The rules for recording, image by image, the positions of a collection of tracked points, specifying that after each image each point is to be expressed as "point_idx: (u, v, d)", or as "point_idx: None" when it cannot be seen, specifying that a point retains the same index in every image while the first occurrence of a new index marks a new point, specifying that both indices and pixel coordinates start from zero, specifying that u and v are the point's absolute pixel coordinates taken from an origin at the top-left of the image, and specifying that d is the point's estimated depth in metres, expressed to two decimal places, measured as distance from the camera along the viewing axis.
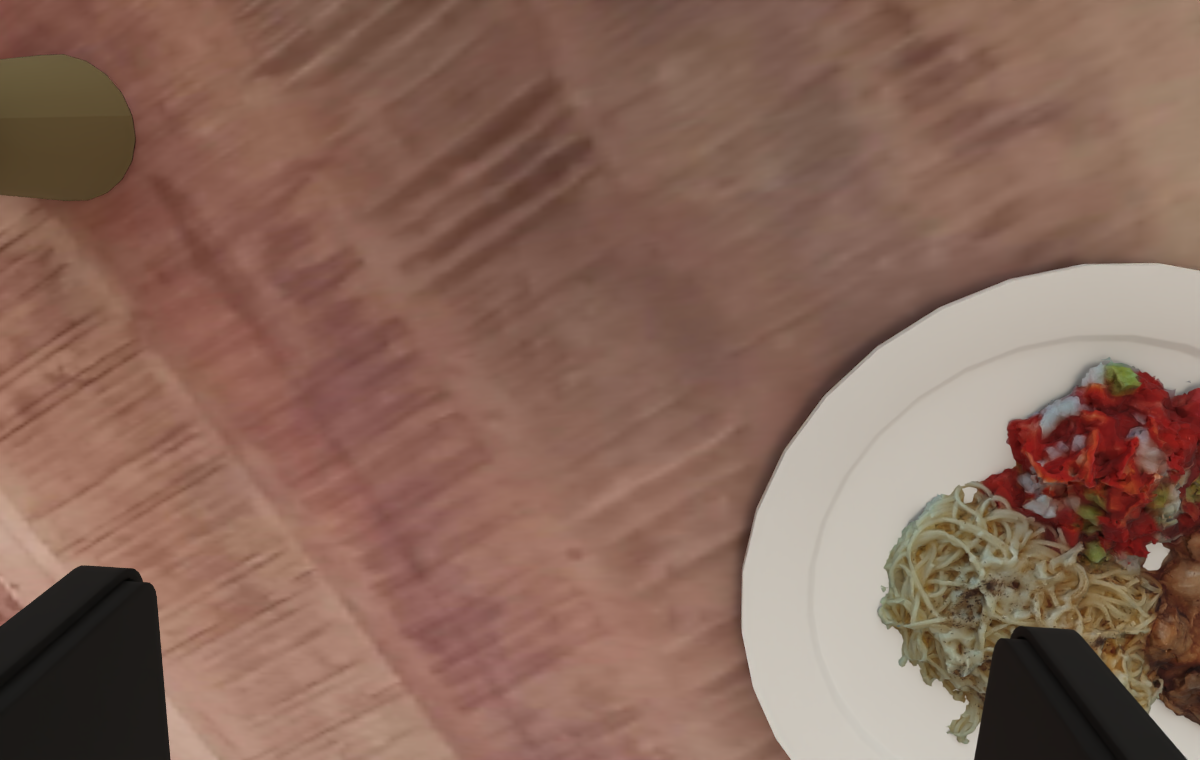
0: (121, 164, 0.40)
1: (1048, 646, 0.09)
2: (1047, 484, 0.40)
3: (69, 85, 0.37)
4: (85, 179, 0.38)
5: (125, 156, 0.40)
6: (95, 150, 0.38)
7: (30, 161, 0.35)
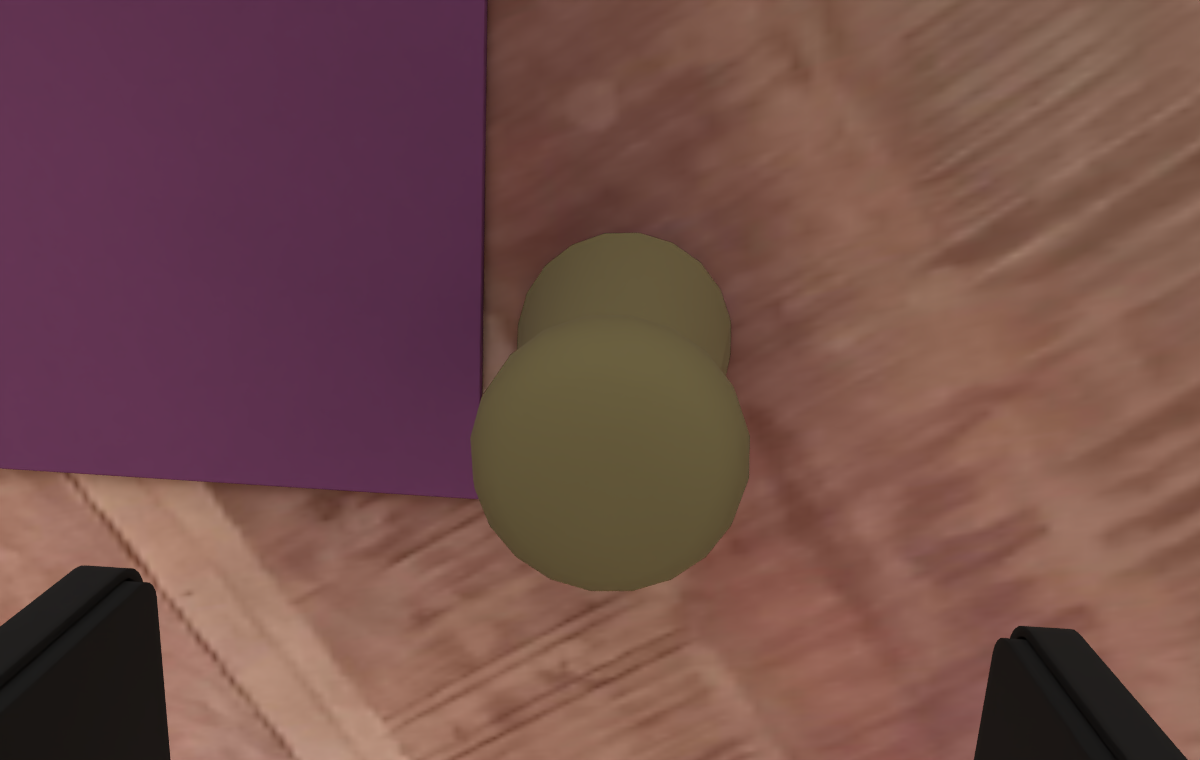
0: None
1: (1048, 646, 0.09)
2: None
3: (704, 300, 0.23)
4: None
5: None
6: None
7: None
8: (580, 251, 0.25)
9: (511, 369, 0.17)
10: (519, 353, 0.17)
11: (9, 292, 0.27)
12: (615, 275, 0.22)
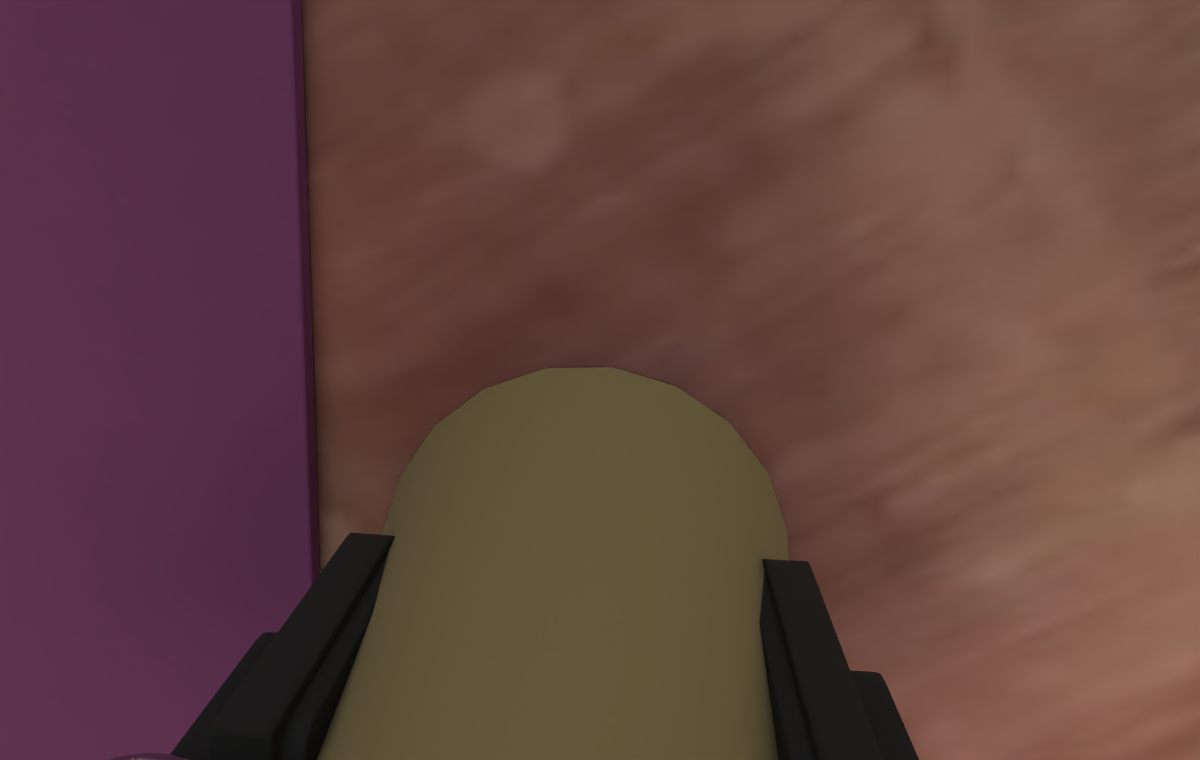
0: None
1: (775, 573, 0.10)
2: None
3: (748, 538, 0.11)
4: None
5: None
6: None
7: None
8: (493, 413, 0.12)
9: None
10: None
11: None
12: (550, 512, 0.10)
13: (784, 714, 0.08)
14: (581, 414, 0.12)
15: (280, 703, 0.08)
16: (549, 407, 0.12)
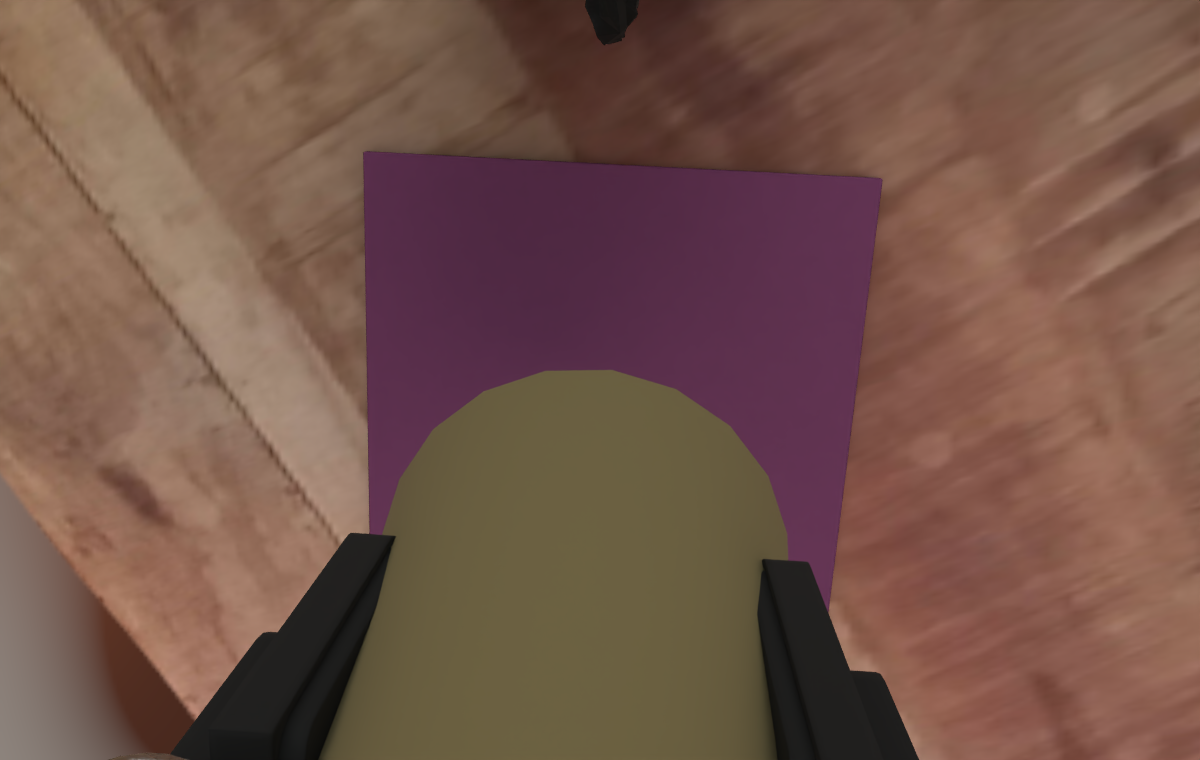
0: None
1: (776, 574, 0.10)
2: None
3: (747, 541, 0.11)
4: None
5: None
6: None
7: None
8: (493, 416, 0.12)
9: None
10: None
11: None
12: (550, 516, 0.10)
13: (785, 714, 0.08)
14: (581, 417, 0.12)
15: (280, 703, 0.08)
16: (549, 410, 0.12)
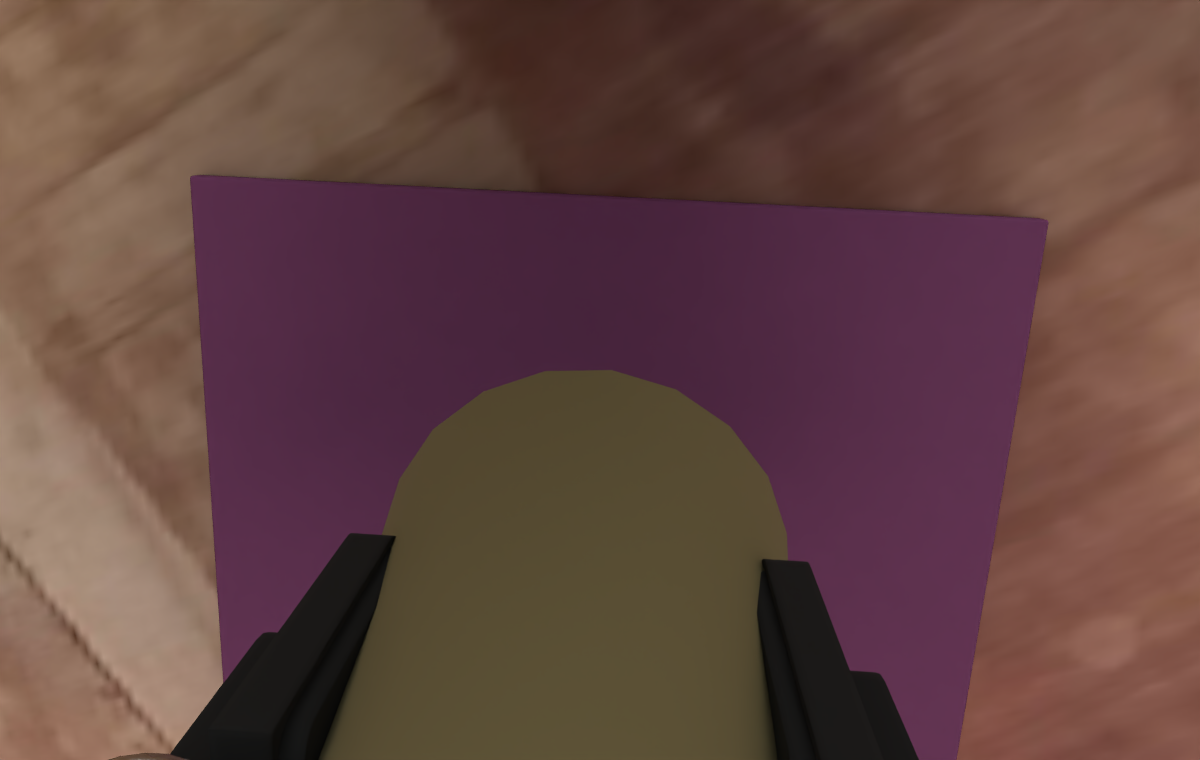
0: None
1: (775, 573, 0.10)
2: None
3: (748, 542, 0.11)
4: None
5: None
6: None
7: None
8: (492, 416, 0.12)
9: None
10: None
11: None
12: (550, 516, 0.10)
13: (784, 714, 0.08)
14: (581, 417, 0.12)
15: (280, 703, 0.08)
16: (549, 410, 0.12)
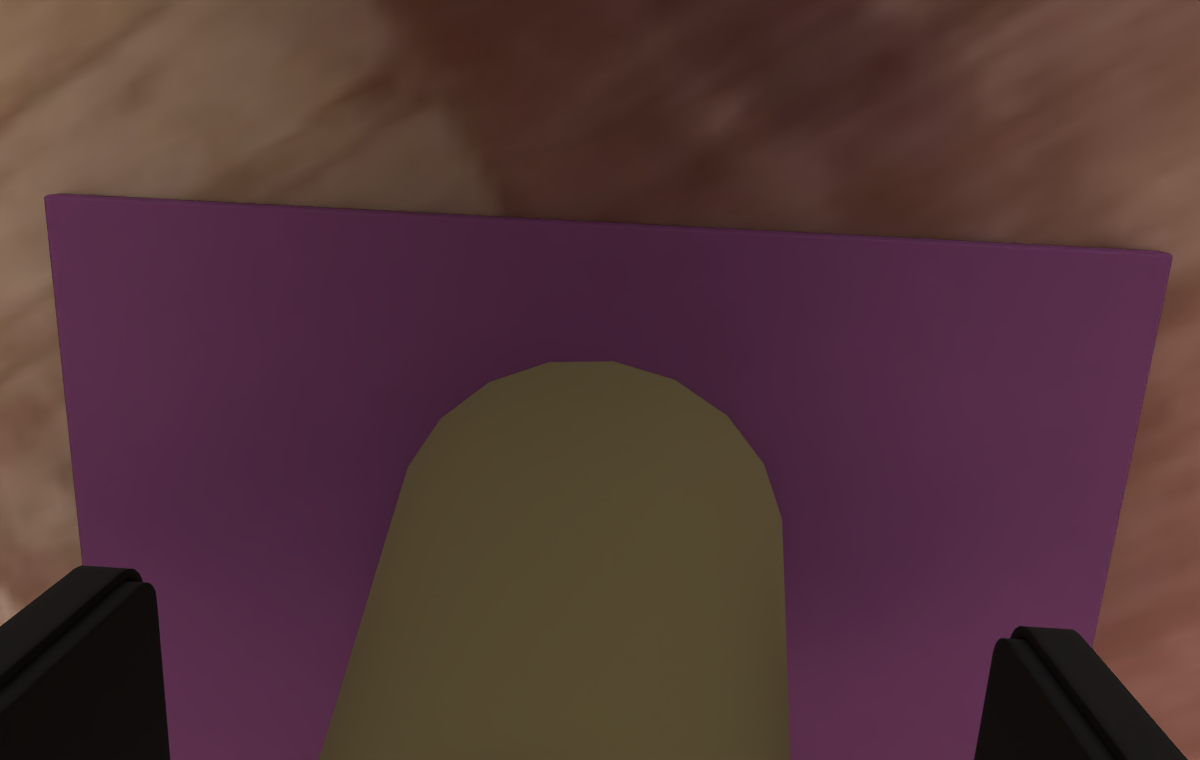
0: None
1: (1048, 646, 0.09)
2: None
3: (744, 523, 0.11)
4: None
5: None
6: None
7: None
8: (498, 404, 0.13)
9: None
10: None
11: None
12: (556, 496, 0.10)
13: None
14: (583, 405, 0.12)
15: None
16: (553, 399, 0.13)
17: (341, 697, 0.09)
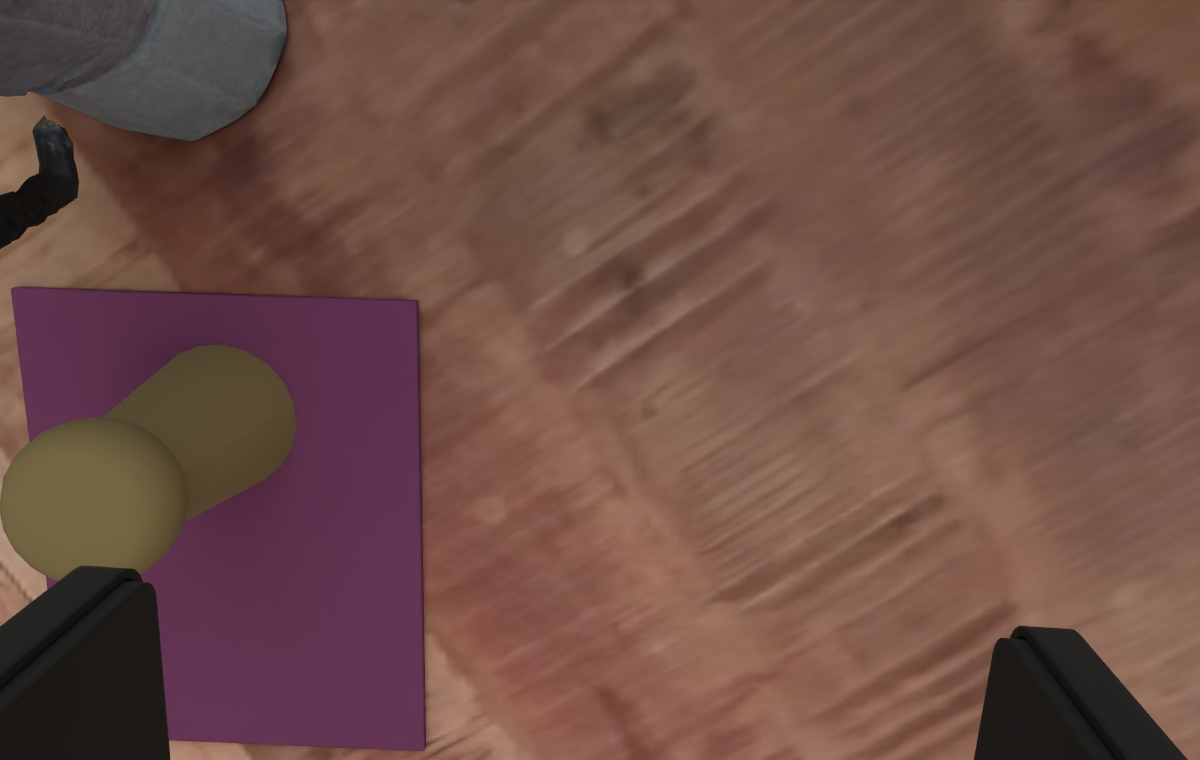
0: (283, 455, 0.38)
1: (1048, 646, 0.09)
2: None
3: (242, 394, 0.35)
4: (252, 482, 0.36)
5: (287, 446, 0.38)
6: (265, 455, 0.36)
7: (213, 494, 0.33)
8: (173, 360, 0.36)
9: (18, 454, 0.28)
10: None
11: None
12: (164, 381, 0.34)
13: None
14: (198, 358, 0.36)
15: None
16: (189, 357, 0.36)
17: None
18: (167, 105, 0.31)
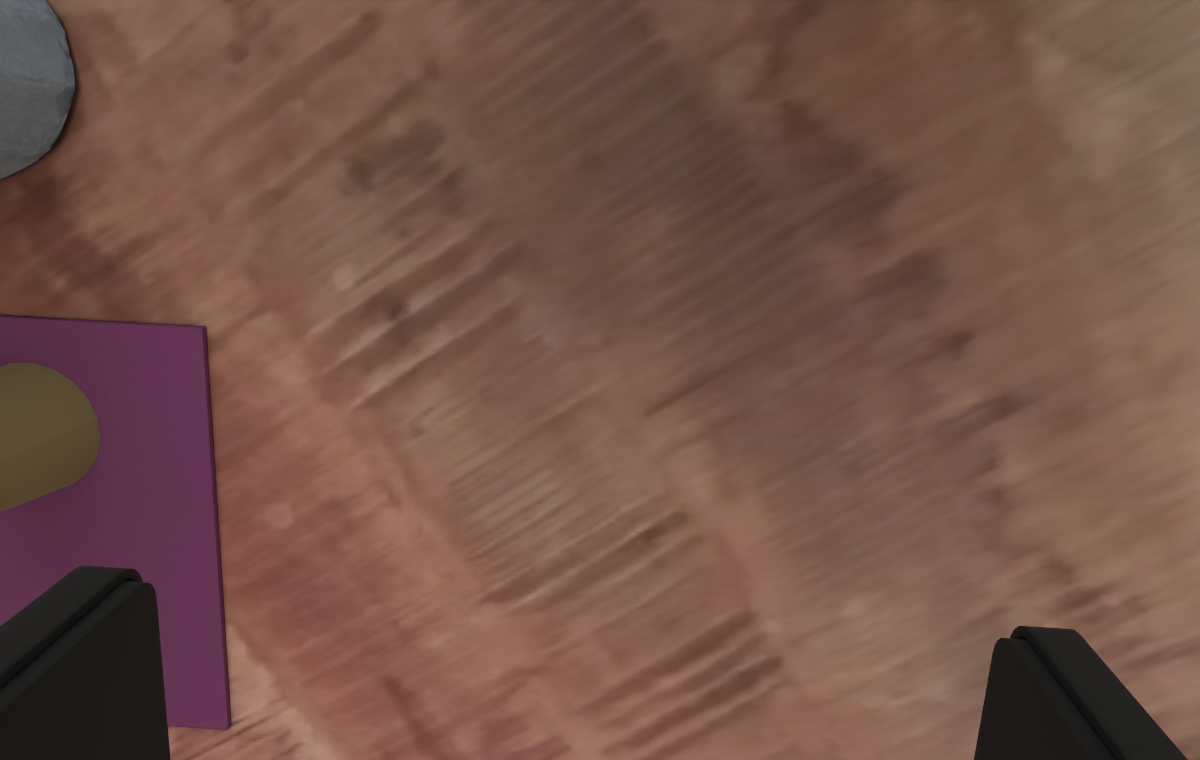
0: (87, 462, 0.42)
1: (1048, 646, 0.09)
2: None
3: (35, 410, 0.39)
4: (51, 487, 0.40)
5: (90, 455, 0.42)
6: (61, 463, 0.40)
7: None
8: None
9: None
10: None
11: None
12: None
13: None
14: (1, 376, 0.40)
15: None
16: None
17: None
18: None
